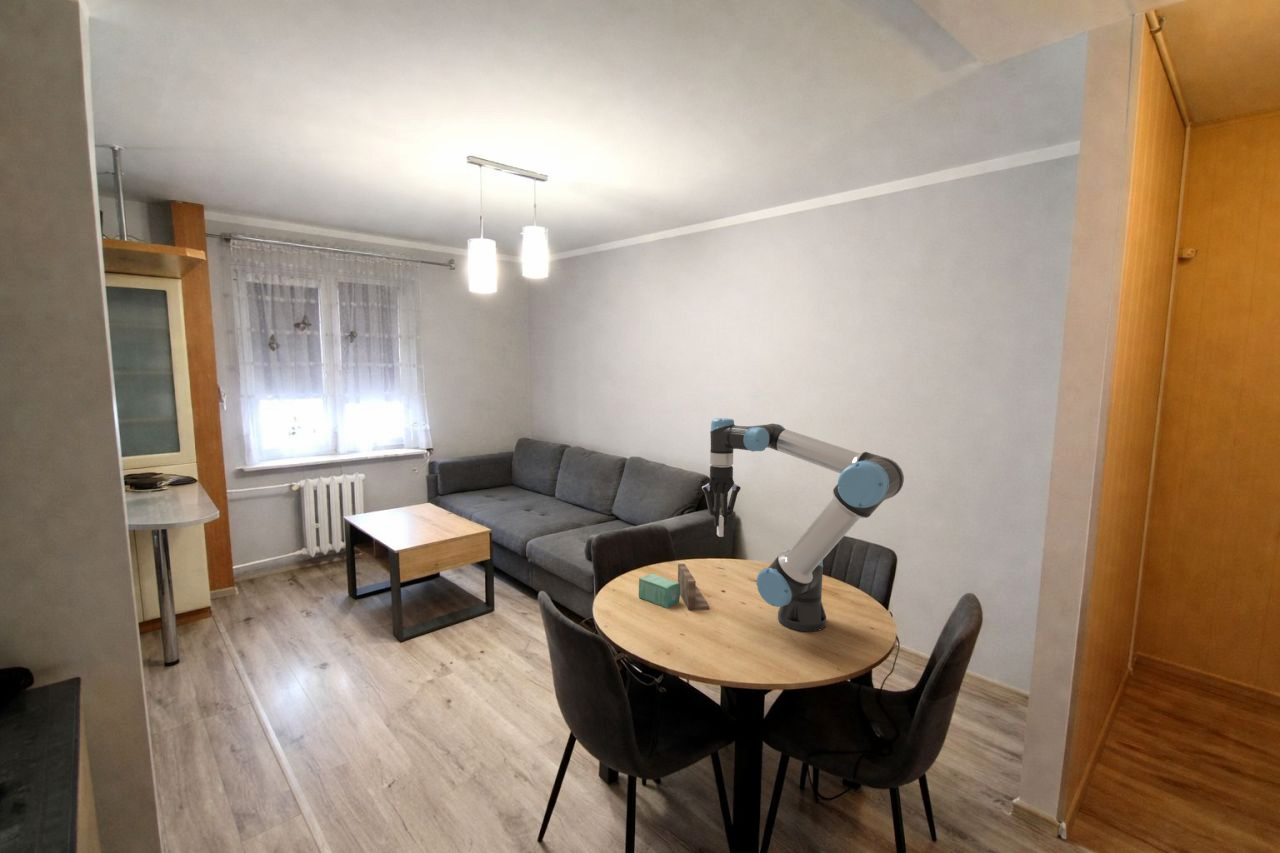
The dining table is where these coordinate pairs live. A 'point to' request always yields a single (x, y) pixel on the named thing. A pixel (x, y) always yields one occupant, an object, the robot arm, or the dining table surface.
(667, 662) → the dining table surface
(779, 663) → the dining table surface
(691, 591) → the walnut angle bracket
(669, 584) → the box
